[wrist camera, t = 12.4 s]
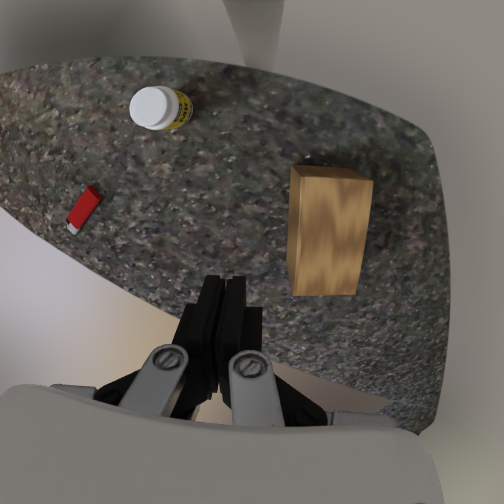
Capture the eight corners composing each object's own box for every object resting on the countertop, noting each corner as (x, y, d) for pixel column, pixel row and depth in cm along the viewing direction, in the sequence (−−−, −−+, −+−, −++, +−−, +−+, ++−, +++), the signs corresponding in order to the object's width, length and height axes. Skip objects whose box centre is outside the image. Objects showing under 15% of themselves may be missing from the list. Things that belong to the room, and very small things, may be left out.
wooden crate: (301, 176, 25) (373, 180, 25) (290, 164, 32) (348, 167, 32) (293, 296, 30) (355, 294, 30) (286, 262, 38) (338, 261, 38)
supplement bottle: (195, 125, 30) (172, 126, 23) (158, 131, 31) (127, 135, 23) (192, 88, 28) (169, 78, 21) (155, 95, 29) (124, 89, 21)
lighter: (98, 201, 34) (73, 236, 36) (103, 198, 35) (78, 232, 37) (86, 186, 33) (62, 223, 35) (91, 184, 34) (67, 220, 36)
